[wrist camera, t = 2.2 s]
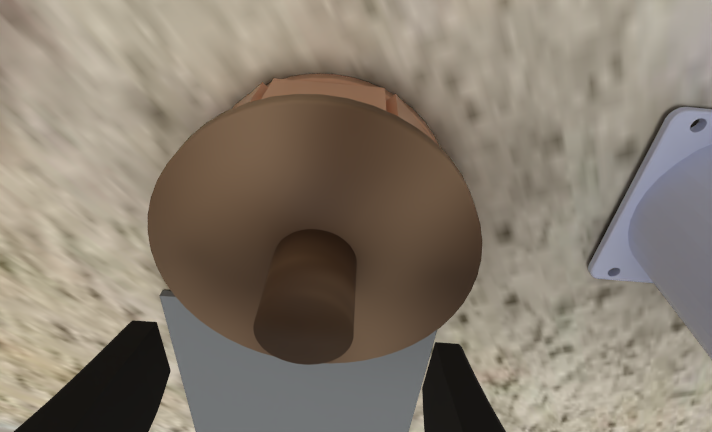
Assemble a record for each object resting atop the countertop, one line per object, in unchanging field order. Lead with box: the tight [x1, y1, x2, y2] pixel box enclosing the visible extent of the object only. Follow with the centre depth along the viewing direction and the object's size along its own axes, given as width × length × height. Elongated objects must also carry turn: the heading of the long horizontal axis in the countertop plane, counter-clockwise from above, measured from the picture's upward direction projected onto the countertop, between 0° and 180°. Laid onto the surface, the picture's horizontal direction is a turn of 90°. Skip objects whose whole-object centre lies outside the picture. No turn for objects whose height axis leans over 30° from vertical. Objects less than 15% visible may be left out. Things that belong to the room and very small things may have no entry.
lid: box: [148, 94, 482, 365], centre depth 14 cm, size 11×11×4 cm
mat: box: [160, 290, 437, 432], centre depth 26 cm, size 14×14×1 cm
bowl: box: [232, 74, 440, 147], centre depth 17 cm, size 10×10×4 cm
